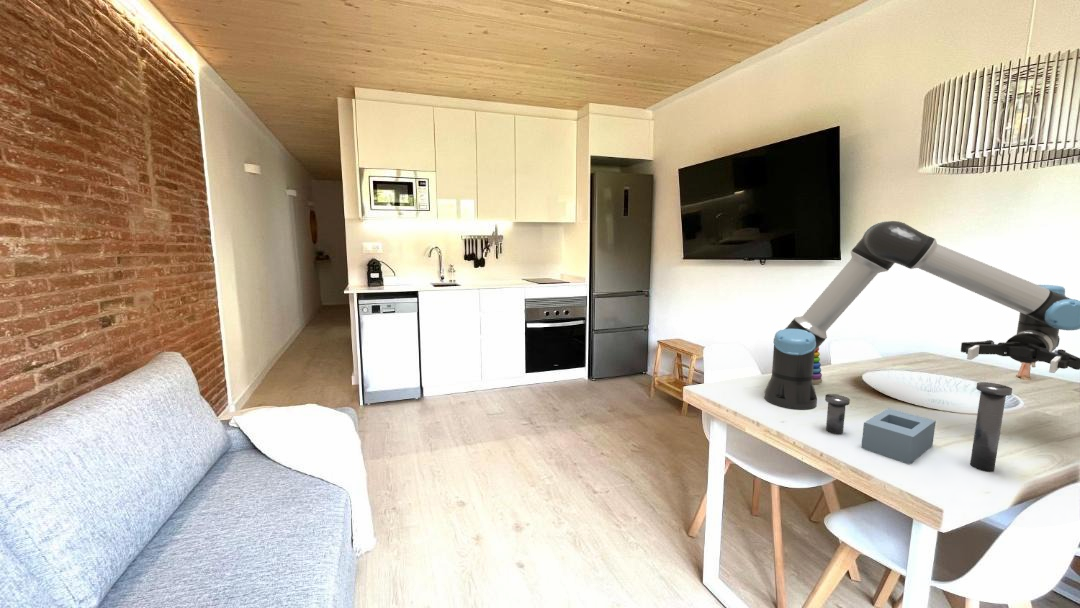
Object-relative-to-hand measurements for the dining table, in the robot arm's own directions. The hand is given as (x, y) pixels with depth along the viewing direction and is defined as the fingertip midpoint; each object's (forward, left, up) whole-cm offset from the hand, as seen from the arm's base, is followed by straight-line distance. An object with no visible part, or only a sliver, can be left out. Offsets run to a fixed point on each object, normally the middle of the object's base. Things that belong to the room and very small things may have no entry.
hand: (1008, 360), depth 103 cm
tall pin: (+7, -7, -24) cm, 26 cm away
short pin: (-8, -32, -24) cm, 41 cm away
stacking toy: (-53, -22, -25) cm, 62 cm away
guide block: (-1, -20, -24) cm, 32 cm away
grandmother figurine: (-69, +57, -25) cm, 93 cm away
